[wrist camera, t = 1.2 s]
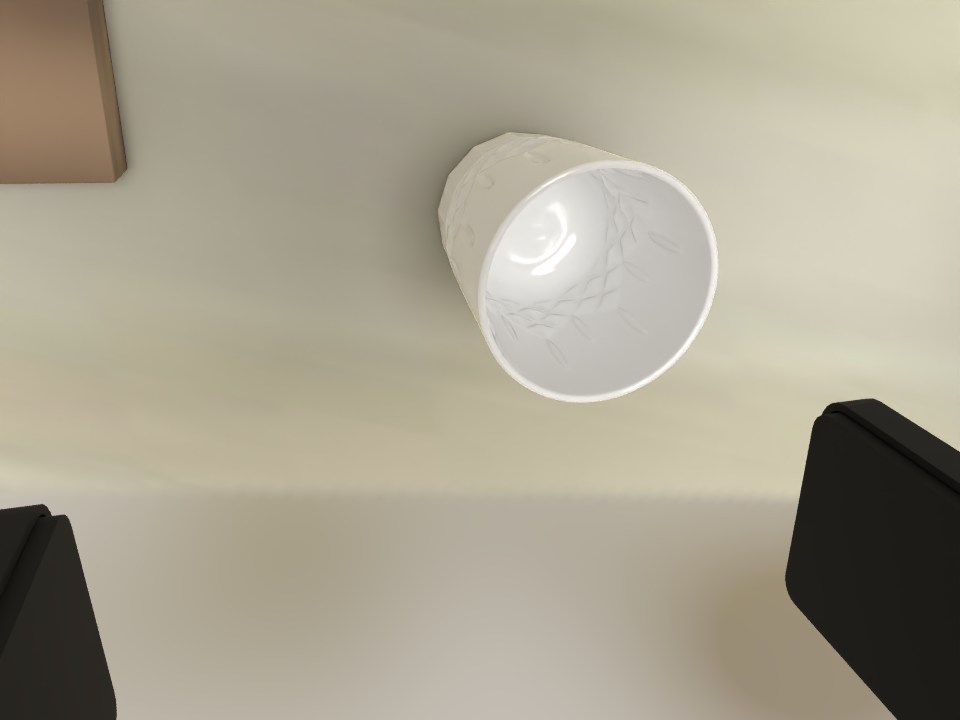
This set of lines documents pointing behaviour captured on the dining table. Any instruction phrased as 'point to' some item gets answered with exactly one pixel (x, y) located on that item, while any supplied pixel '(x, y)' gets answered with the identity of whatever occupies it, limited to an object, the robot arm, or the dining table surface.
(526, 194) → the white cup
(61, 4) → the button board
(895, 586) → the robot arm
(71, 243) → the dining table surface
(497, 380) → the dining table surface
